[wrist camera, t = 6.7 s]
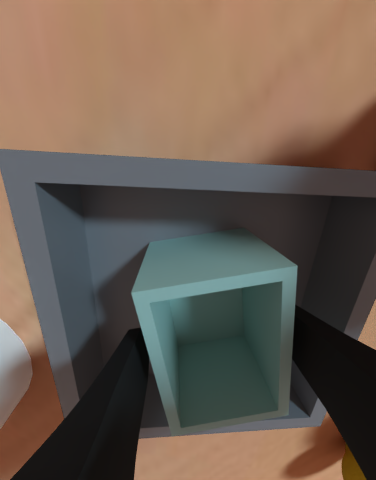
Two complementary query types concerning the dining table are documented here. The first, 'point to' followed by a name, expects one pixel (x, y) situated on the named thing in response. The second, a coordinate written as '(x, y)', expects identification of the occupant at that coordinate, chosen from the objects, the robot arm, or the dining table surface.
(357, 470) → the lemon
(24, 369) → the honey pot
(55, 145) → the dining table surface
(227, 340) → the teal crate
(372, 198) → the charcoal crate
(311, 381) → the robot arm
